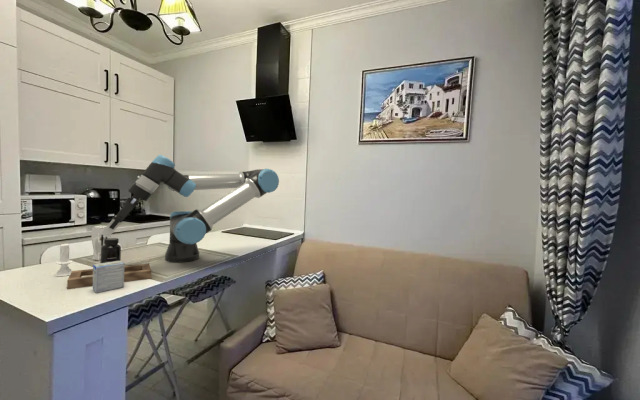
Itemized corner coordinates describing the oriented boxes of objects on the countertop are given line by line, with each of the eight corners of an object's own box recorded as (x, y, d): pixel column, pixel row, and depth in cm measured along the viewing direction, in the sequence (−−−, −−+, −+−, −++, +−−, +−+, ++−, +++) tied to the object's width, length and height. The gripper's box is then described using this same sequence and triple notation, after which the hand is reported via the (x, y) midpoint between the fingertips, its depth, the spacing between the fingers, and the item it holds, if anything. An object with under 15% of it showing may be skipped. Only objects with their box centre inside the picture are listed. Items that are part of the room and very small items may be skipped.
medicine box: (120, 284, 100) (120, 260, 99) (124, 287, 97) (124, 262, 96) (92, 289, 93) (92, 264, 93) (95, 293, 91) (96, 267, 90)
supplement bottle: (109, 270, 113) (110, 241, 113) (95, 268, 115) (96, 239, 114) (124, 265, 120) (125, 238, 120) (111, 264, 121) (112, 236, 121)
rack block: (148, 270, 116) (149, 262, 116) (151, 278, 107) (151, 269, 107) (72, 279, 102) (72, 270, 102) (67, 289, 93) (67, 279, 93)
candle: (65, 271, 109) (66, 241, 109) (77, 273, 108) (77, 242, 108) (50, 275, 104) (50, 243, 103) (62, 277, 103) (63, 245, 102)
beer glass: (113, 258, 129) (113, 226, 128) (94, 261, 123) (95, 228, 123) (106, 256, 133) (107, 224, 132) (88, 258, 127) (88, 226, 126)
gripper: (134, 183, 122) (99, 224, 116) (133, 182, 101) (91, 232, 96) (151, 192, 126) (118, 233, 120) (153, 194, 105) (114, 243, 99)
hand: (106, 233), depth 108 cm, fingers open, 13 cm apart
